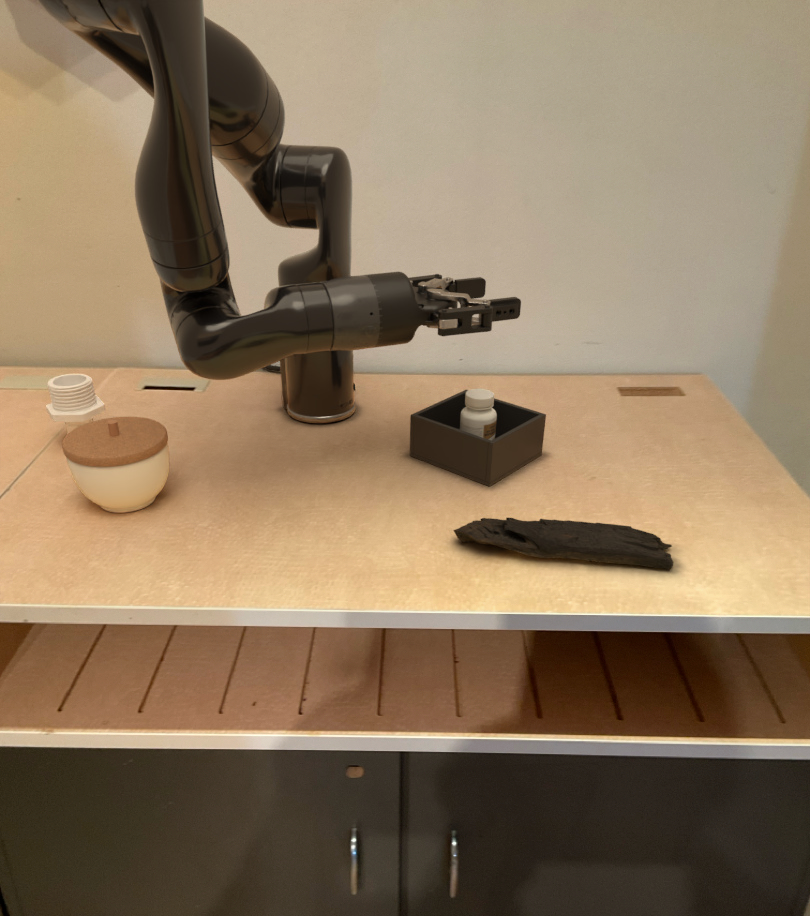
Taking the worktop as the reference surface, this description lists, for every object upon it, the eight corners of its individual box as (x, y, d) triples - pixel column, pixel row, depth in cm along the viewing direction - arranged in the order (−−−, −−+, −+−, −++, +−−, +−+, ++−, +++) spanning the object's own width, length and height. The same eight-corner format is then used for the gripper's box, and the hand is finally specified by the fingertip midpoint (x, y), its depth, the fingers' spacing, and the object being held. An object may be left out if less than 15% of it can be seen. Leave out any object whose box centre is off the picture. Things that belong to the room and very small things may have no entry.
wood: (666, 534, 83) (671, 509, 81) (678, 573, 77) (684, 547, 75) (456, 520, 85) (457, 495, 84) (450, 557, 79) (452, 531, 78)
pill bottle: (492, 461, 96) (496, 401, 92) (456, 458, 97) (459, 398, 93) (495, 446, 100) (500, 388, 96) (460, 443, 100) (463, 385, 96)
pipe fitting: (63, 455, 98) (48, 394, 93) (51, 435, 103) (36, 376, 98) (115, 444, 100) (103, 384, 96) (100, 424, 106) (88, 367, 101)
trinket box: (85, 532, 82) (65, 451, 77) (70, 489, 90) (51, 412, 85) (187, 509, 87) (175, 431, 82) (164, 470, 95) (152, 396, 90)
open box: (409, 455, 98) (410, 414, 95) (464, 428, 106) (466, 389, 103) (489, 486, 92) (492, 443, 89) (541, 455, 99) (546, 414, 96)
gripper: (388, 294, 76) (535, 278, 81) (343, 260, 87) (475, 248, 93) (388, 368, 80) (529, 349, 86) (345, 327, 92) (471, 312, 97)
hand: (500, 296), depth 89 cm, fingers open, 8 cm apart
